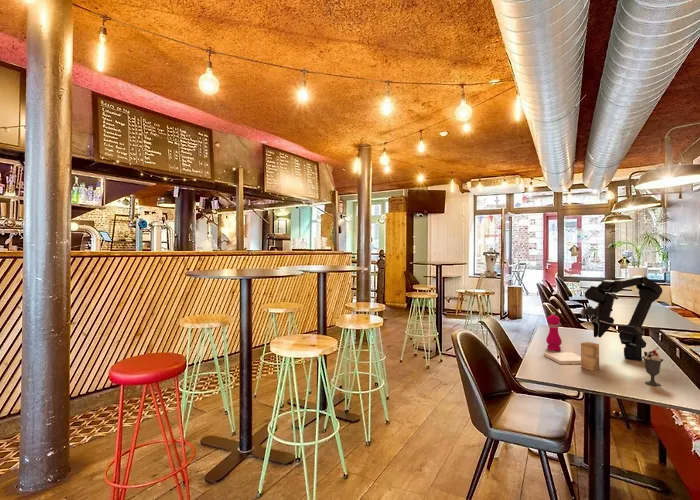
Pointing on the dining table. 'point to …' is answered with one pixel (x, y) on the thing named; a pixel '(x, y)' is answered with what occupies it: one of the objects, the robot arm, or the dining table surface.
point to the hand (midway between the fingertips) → (597, 337)
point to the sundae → (652, 365)
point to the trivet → (564, 358)
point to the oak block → (590, 355)
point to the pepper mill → (553, 333)
